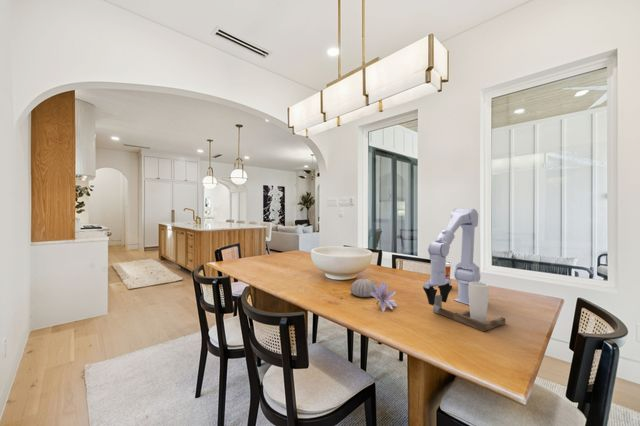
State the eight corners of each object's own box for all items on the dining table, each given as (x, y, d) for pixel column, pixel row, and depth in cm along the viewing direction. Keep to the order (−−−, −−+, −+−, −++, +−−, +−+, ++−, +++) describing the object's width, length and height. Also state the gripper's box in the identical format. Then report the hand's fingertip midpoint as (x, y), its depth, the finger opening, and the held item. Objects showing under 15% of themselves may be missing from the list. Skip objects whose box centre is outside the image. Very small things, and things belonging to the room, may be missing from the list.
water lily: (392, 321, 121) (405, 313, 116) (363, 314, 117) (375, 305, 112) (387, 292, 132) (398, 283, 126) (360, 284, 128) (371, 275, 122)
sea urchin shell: (355, 299, 130) (356, 283, 130) (346, 291, 143) (346, 276, 143) (381, 298, 133) (381, 281, 133) (369, 289, 146) (370, 275, 146)
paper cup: (444, 290, 146) (445, 264, 146) (432, 286, 153) (433, 262, 152) (454, 288, 149) (454, 263, 149) (442, 285, 156) (442, 260, 156)
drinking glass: (491, 327, 101) (492, 286, 100) (471, 325, 102) (472, 285, 102) (484, 319, 107) (484, 282, 107) (465, 318, 109) (466, 281, 108)
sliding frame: (454, 305, 122) (454, 290, 122) (506, 323, 103) (506, 305, 103) (431, 311, 115) (431, 295, 115) (482, 332, 96) (483, 312, 96)
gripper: (441, 267, 121) (440, 297, 121) (418, 270, 114) (417, 302, 114) (455, 270, 115) (455, 302, 115) (432, 274, 108) (431, 308, 108)
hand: (437, 303), depth 114 cm, fingers open, 7 cm apart
